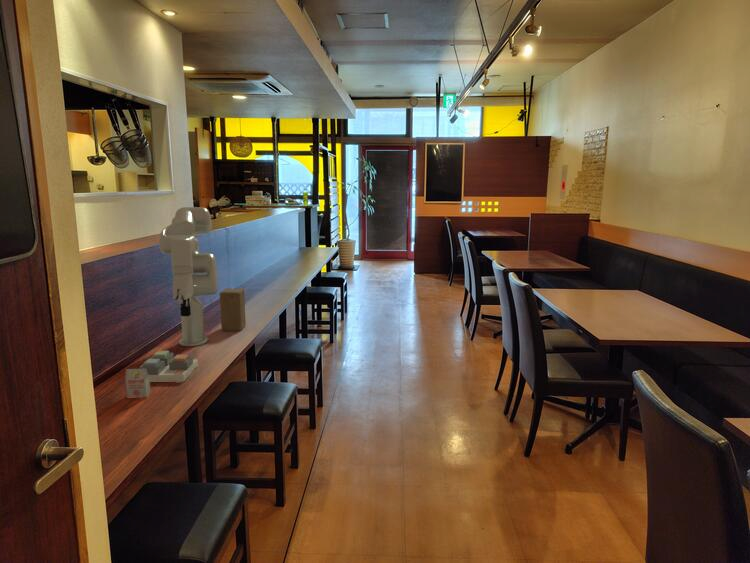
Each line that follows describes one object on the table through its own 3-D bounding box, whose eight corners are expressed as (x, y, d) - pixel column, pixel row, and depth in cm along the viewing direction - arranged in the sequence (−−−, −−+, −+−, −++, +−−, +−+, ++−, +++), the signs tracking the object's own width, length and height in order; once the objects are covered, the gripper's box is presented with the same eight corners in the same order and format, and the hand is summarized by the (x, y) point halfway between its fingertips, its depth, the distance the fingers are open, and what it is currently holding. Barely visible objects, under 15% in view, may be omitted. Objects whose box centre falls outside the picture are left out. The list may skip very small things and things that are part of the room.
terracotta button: (177, 360, 185) (177, 354, 185) (188, 360, 185) (188, 354, 185) (173, 364, 181) (173, 358, 181) (184, 364, 181) (184, 358, 181)
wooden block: (241, 331, 239) (239, 292, 235) (221, 331, 239) (218, 292, 235) (246, 325, 249) (244, 288, 245) (227, 325, 249) (224, 288, 245)
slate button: (149, 364, 180) (148, 358, 180) (160, 364, 181) (159, 358, 180) (144, 369, 176) (143, 362, 176) (155, 368, 176) (155, 362, 176)
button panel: (157, 366, 191) (156, 352, 190) (198, 366, 192) (197, 352, 191) (139, 382, 176) (138, 367, 175) (184, 382, 176) (182, 367, 175)
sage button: (158, 356, 189) (158, 350, 189) (169, 356, 189) (169, 350, 189) (154, 360, 185) (153, 354, 185) (165, 360, 185) (164, 354, 185)
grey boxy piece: (130, 394, 166) (127, 367, 164) (150, 393, 167) (148, 366, 165) (126, 398, 163) (123, 371, 161) (146, 398, 163) (144, 370, 161)
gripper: (179, 266, 192) (183, 310, 196) (165, 273, 177) (168, 320, 181) (198, 266, 192) (201, 310, 196) (185, 273, 178) (189, 320, 181)
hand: (185, 315), depth 188 cm, fingers closed
